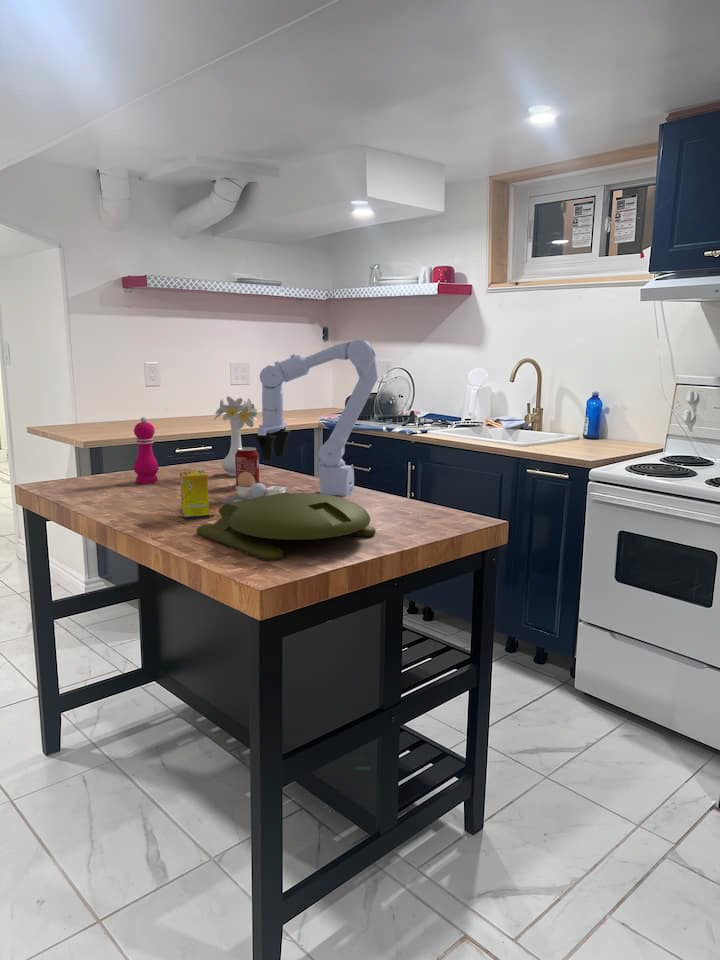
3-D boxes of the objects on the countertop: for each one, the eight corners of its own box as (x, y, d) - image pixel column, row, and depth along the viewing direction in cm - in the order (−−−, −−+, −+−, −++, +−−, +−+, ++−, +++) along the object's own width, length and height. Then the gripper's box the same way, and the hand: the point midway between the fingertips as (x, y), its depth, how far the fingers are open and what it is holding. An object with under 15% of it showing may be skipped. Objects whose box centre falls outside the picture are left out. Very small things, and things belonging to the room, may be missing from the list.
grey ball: (269, 498, 189) (269, 482, 188) (262, 501, 185) (262, 485, 184) (255, 497, 190) (254, 481, 189) (247, 500, 186) (247, 484, 185)
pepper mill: (133, 481, 216) (129, 416, 213) (157, 479, 219) (154, 415, 216) (136, 485, 210) (132, 418, 206) (161, 483, 213) (157, 417, 209)
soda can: (257, 491, 202) (256, 450, 200) (234, 491, 203) (232, 450, 200) (261, 486, 209) (260, 446, 207) (238, 486, 209) (237, 446, 207)
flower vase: (236, 481, 216) (233, 400, 212) (207, 473, 230) (204, 396, 226) (271, 476, 225) (270, 398, 220) (242, 468, 239) (240, 394, 234)
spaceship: (192, 535, 158) (190, 492, 156) (300, 513, 178) (300, 475, 176) (285, 572, 132) (285, 522, 131) (399, 542, 153) (400, 498, 151)
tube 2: (288, 498, 189) (288, 487, 188) (280, 502, 185) (280, 490, 184) (272, 497, 191) (272, 485, 190) (264, 500, 186) (264, 489, 185)
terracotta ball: (257, 487, 191) (257, 471, 190) (249, 489, 187) (249, 473, 186) (242, 485, 193) (242, 470, 192) (234, 488, 189) (234, 472, 188)
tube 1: (258, 495, 192) (258, 484, 191) (250, 499, 187) (249, 488, 187) (242, 494, 193) (242, 483, 193) (234, 498, 189) (233, 486, 188)
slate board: (296, 499, 192) (296, 494, 191) (274, 511, 179) (274, 505, 178) (244, 495, 197) (244, 489, 196) (219, 506, 184) (218, 500, 184)
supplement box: (181, 514, 175) (179, 471, 173) (205, 512, 177) (204, 470, 175) (184, 520, 169) (182, 475, 167) (209, 518, 171) (207, 474, 169)
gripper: (271, 406, 202) (272, 453, 205) (247, 411, 189) (248, 461, 191) (293, 407, 200) (294, 454, 202) (271, 412, 186) (272, 462, 189)
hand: (273, 458), depth 197 cm, fingers open, 7 cm apart
